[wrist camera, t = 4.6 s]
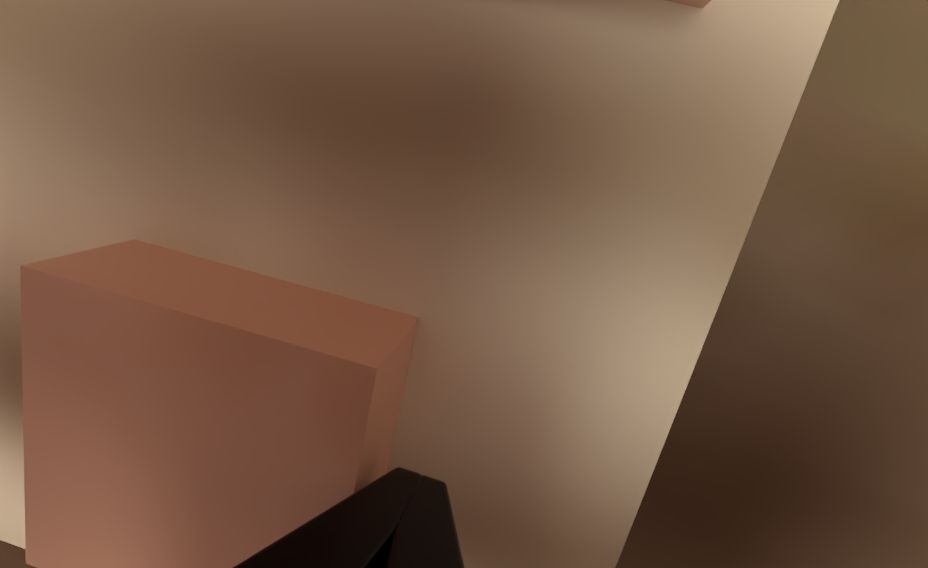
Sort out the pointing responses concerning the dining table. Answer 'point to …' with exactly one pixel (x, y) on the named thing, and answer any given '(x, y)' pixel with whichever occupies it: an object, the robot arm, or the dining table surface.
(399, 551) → the robot arm
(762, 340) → the dining table surface
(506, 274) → the large cream board
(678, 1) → the tile
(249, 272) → the tile
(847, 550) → the dining table surface
